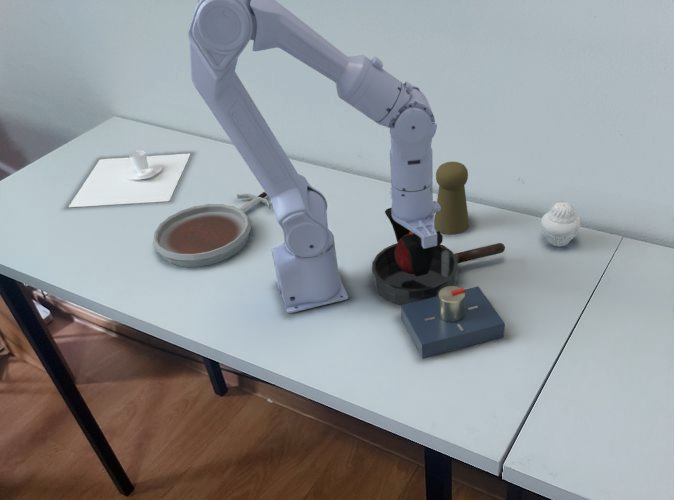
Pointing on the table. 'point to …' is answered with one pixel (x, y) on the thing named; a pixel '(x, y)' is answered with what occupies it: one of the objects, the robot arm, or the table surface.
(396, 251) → the red pomegranate
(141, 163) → the teacup and saucer
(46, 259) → the table surface
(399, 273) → the skillet
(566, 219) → the muffin
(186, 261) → the frying pan
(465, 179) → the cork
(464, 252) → the skillet handle
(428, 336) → the blue control panel
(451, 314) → the knob
